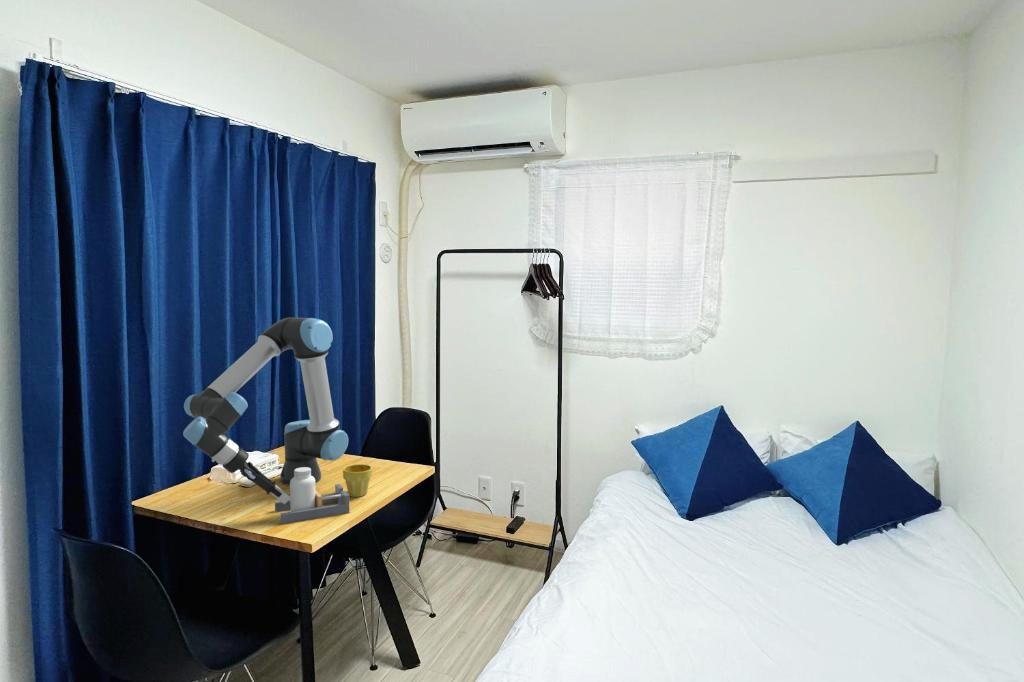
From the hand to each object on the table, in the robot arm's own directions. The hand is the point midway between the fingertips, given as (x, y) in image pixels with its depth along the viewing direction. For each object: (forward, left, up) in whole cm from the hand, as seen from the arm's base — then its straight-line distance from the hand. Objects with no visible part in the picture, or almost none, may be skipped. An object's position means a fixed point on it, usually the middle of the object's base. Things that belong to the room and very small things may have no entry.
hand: (287, 500), depth 193 cm
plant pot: (+14, +24, -5) cm, 28 cm away
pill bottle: (+4, +3, -5) cm, 7 cm away
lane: (+6, +4, -5) cm, 9 cm away
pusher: (+11, +9, -5) cm, 15 cm away
